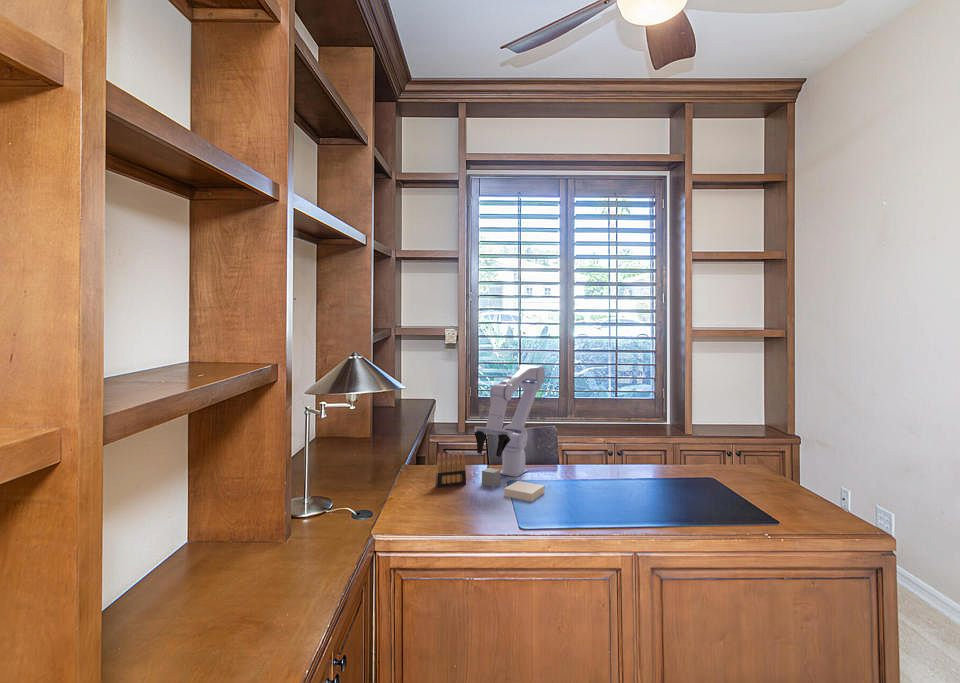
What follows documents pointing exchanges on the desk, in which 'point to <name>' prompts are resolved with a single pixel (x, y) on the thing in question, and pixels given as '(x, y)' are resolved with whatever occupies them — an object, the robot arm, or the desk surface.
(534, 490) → the cream block
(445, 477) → the ammunition clip
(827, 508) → the desk surface
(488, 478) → the grey cube
